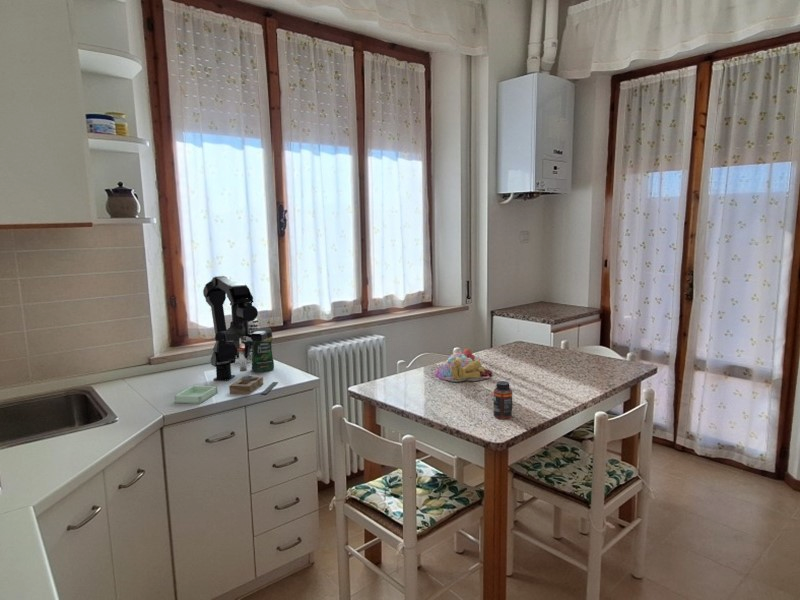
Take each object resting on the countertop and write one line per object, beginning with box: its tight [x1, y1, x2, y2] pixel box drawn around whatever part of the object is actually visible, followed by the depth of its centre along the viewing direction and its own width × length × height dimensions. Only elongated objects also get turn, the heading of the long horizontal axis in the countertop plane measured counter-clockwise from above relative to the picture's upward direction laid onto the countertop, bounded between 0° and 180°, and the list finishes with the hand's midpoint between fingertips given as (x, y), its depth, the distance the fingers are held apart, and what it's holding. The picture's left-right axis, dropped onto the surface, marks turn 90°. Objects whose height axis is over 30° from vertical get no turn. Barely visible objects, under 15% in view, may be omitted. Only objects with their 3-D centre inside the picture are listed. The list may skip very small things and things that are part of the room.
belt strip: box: [260, 381, 279, 395], centre depth 191 cm, size 14×2×1 cm, turn 176°
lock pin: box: [237, 345, 248, 373], centre depth 188 cm, size 4×4×9 cm
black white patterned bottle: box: [240, 316, 259, 363], centre depth 233 cm, size 9×9×25 cm
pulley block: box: [229, 374, 264, 395], centre depth 191 cm, size 12×8×4 cm, turn 171°
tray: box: [173, 385, 218, 405], centre depth 182 cm, size 12×10×3 cm
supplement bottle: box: [493, 380, 513, 420], centre depth 157 cm, size 6×6×11 cm
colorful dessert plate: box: [435, 348, 493, 383], centre depth 205 cm, size 25×24×9 cm
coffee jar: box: [251, 327, 275, 373], centre depth 216 cm, size 10×8×19 cm
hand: (242, 358), depth 188 cm, fingers closed on lock pin, 3 cm apart
